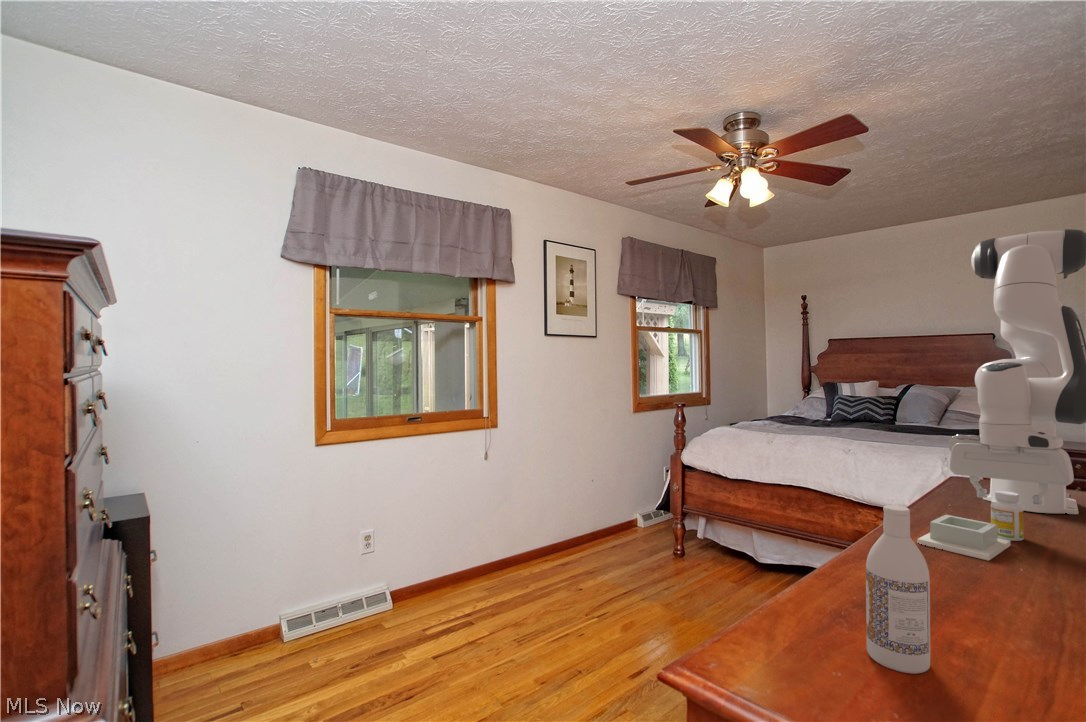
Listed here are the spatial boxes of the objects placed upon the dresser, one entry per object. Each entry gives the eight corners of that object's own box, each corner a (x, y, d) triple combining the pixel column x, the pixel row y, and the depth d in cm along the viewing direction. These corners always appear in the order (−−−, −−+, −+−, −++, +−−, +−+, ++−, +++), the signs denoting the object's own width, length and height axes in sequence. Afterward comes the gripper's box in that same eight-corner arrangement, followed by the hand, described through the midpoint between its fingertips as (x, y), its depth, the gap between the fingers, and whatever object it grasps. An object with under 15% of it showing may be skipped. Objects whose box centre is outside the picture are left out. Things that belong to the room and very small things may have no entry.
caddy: (942, 530, 120) (942, 511, 120) (1010, 545, 111) (1010, 524, 111) (917, 543, 112) (917, 522, 112) (988, 560, 102) (988, 537, 102)
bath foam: (871, 640, 74) (870, 498, 74) (932, 657, 70) (931, 506, 70) (862, 662, 69) (861, 508, 69) (928, 682, 64) (926, 518, 64)
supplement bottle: (1010, 533, 118) (1010, 490, 118) (1030, 541, 113) (1030, 496, 113) (984, 533, 119) (984, 489, 119) (1003, 541, 113) (1002, 496, 113)
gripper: (943, 434, 122) (946, 495, 121) (1066, 441, 105) (1070, 511, 105) (953, 432, 126) (956, 491, 125) (1073, 439, 109) (1077, 506, 109)
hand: (1009, 500), depth 115 cm, fingers open, 8 cm apart
